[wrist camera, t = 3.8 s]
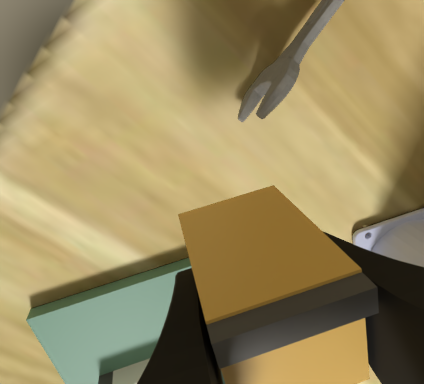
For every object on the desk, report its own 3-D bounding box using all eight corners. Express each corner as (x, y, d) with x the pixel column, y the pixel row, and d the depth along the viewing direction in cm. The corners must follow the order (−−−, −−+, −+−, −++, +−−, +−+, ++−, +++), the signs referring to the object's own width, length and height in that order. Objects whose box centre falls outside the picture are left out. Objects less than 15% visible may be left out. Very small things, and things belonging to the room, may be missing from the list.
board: (294, 223, 23) (326, 257, 19) (320, 379, 30) (348, 429, 26) (30, 309, 22) (6, 365, 18) (117, 454, 28) (114, 520, 24)
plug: (273, 185, 14) (377, 283, 8) (287, 264, 15) (382, 397, 9) (178, 214, 14) (210, 340, 7) (202, 293, 15) (245, 449, 9)
